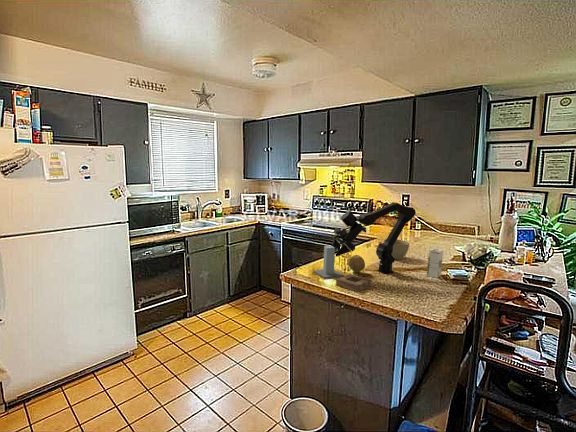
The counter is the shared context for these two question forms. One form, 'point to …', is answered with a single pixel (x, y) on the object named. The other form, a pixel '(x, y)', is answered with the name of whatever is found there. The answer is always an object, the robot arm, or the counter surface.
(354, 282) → the walnut pocket block
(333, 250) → the slate peg
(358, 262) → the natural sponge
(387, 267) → the robot arm
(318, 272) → the charcoal mat
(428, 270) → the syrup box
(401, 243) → the planter bowl
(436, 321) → the counter surface
